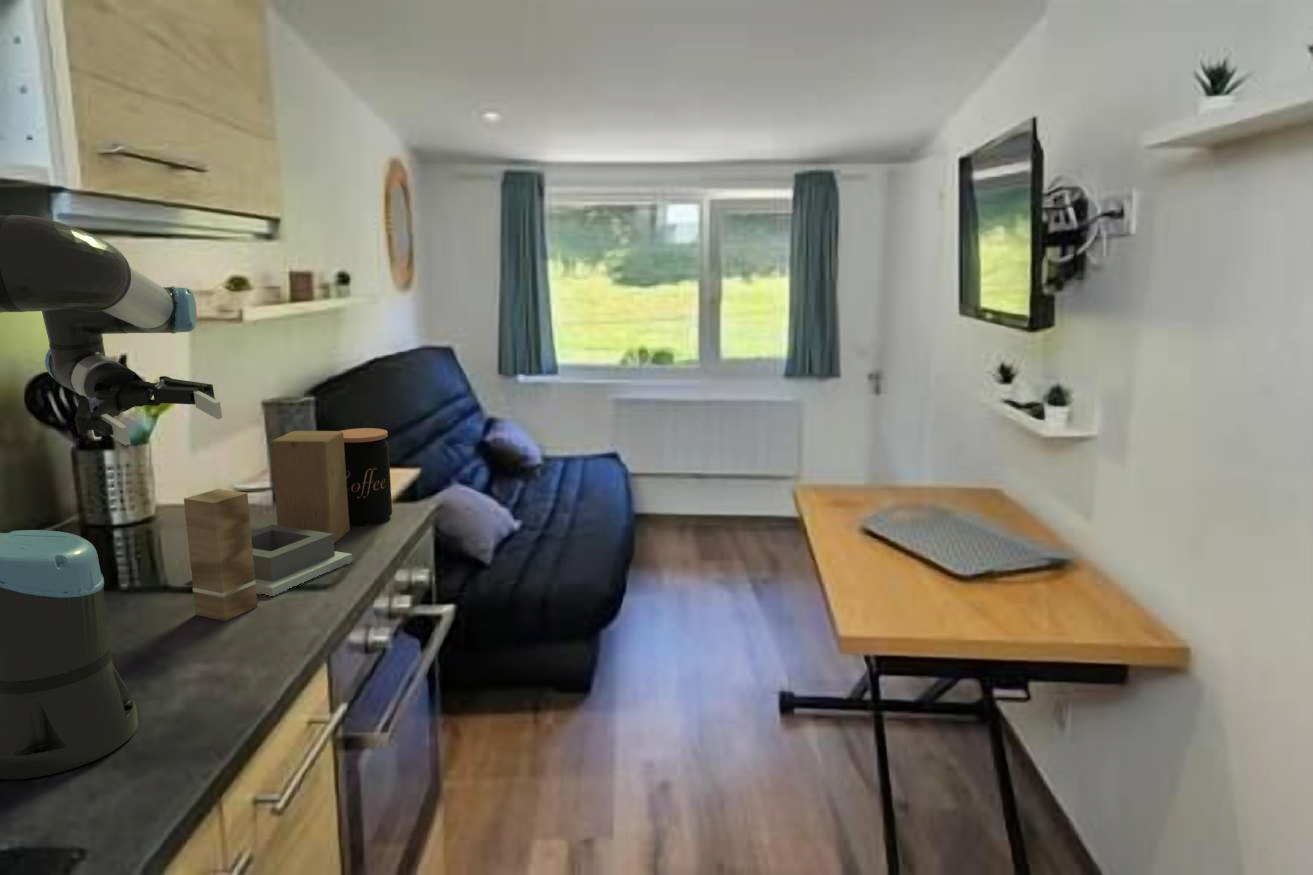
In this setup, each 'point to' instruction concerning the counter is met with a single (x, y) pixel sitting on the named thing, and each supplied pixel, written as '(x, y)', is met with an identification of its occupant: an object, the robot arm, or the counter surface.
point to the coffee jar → (367, 476)
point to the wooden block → (311, 481)
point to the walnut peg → (221, 553)
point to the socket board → (291, 557)
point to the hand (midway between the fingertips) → (174, 423)
